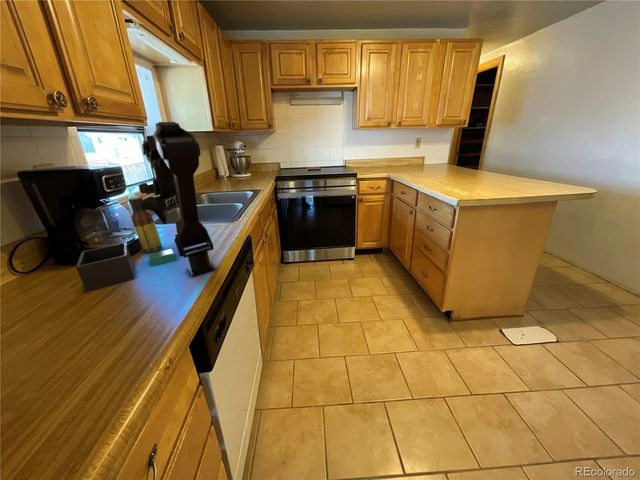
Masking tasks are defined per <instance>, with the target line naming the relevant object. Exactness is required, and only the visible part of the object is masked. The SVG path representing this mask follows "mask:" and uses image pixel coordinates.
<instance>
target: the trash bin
mask: <svg viewBox="0 0 640 480" xmlns="http://www.w3.org/2000/svg"><path fill="white" fill-rule="evenodd" d="M75 268H76V270H77V273H78V275H79V277H80V280H81V282H82V285H83V287H84V289H85V291H86V292H89V291H92V290H96V289H100V288H103V287H107V286H111V285H116V284H118V283H122V282H126V281H131V280H133V279H135V268H134V261H133V258H132V256H131V252H130V250H129V246H128V244H127V242H120V243H117V244H110V245H106V246H102V247H97V248H91V249H88V250H87V249H86V250H83V251H81V253H80V256H79V258H78V261H77V263H76V266H75Z"/></svg>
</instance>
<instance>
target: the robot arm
mask: <svg viewBox="0 0 640 480" xmlns="http://www.w3.org/2000/svg"><path fill="white" fill-rule="evenodd" d="M141 152H142V154H143V156H145V158H146V161H147V163H148V165H149V166H150V167H151V168H152V170H153V172H154V176H155V177H154V179H153V180H152V181H151V182H149V183H147V182H142V183H139V184H138V190H139V191H140V193H141V194H142V195H144V194H145V195H147V196H148V195H150V194H154V196H149V197H146V198H145V199H143V200H142V202H141V205H142V209H146V210H147V211H151V212H153V213H154V214H155V215H156V216H157V218H158V219H159V220H160V222H162V224H163V225H167V224H168V207H167V202H168V201H170V200H171V199H174V198H175V197H176V199H177V203H178V209H179V215H180V219H178V220H176V221H175V227H176V233H175V234H174V236H175V237H174V239H173V240H174V243H175V247H176V248H177V251H178V255H179V258H185V259H186V258H187V259H188V263H189V266H188V267H187V269H188V271H189V273H190V274H191V277H196V276H199V275H203V274H205V273H209V272H212V271H215V270H216V269H215V267H214V265H213V264H212V263H211V260H210V256H209V251H213V250H214V243H213V242H212V241H213V240H212V239H211V237H210V234H209V231H208V230H207V228H206V227H205V226H204V225H203V223H202V221H201V220H200V219H199V211H198V204H197V203H198V202H197V196H196V195H197V193H196V186H195V177H194V175H195V174H196V172H197V170H198V169H199V167H200V157H201V147H200V144H199V143H198V140H197V139H196V137H195V136H194V135H193V133H191V132H190V131H189V130H186V129H184V128H182V127H181V126H180V124H179V122H175V121H159V122H156V123H155V131H154V132H153V134H152V135H145V137H144V140H143V141H142V144H141ZM155 196H159V197H155Z"/></svg>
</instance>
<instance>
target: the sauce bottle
mask: <svg viewBox="0 0 640 480" xmlns="http://www.w3.org/2000/svg"><path fill="white" fill-rule="evenodd" d="M127 200H128V203H129V204H130V207H131V209H132V215H131V221H132V223H133V227H134V229H135V232H136V235H137V237H138V240H139V243H140V246H141V248H142V250H143V252H144V253H148V254H149V253H156V252H159V251H160V250H162V249H163V245H162V241H161V238H160V235H159V232H158V228H157V227H156V226H157V225H156V223H155V221H154V218H153V216H152V214H151V213H150V212H149V210H146V209H142V205H141V202H142V200H144V199H143V197H142V196H133V197H129V198H128V199H127Z"/></svg>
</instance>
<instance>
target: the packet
mask: <svg viewBox="0 0 640 480" xmlns="http://www.w3.org/2000/svg"><path fill="white" fill-rule="evenodd" d="M174 253H175V252H174V251H173V249H172V248H170V249H164V250H161V251H160V250H159V251H155V252H150V253H148V259H149V262H150V264H151V267H153V266H157V265H162V264H165V263H169V262H172V261H175V260H176V257H175V254H174Z"/></svg>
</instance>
